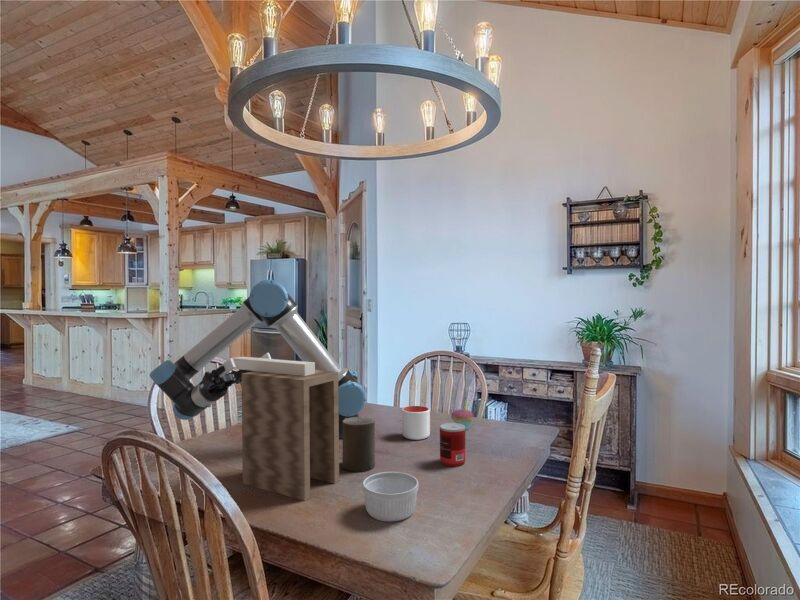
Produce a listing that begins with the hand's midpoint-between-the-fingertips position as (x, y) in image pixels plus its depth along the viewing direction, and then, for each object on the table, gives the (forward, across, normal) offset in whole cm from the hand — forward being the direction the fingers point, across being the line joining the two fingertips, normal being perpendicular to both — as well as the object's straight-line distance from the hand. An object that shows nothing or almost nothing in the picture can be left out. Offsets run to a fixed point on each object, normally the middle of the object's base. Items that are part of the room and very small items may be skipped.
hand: (252, 359), depth 134 cm
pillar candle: (+4, -19, -40) cm, 45 cm away
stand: (-4, 0, -36) cm, 36 cm away
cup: (+5, -53, -41) cm, 67 cm away
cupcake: (+14, -71, -46) cm, 86 cm away
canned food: (+24, -36, -52) cm, 67 cm away
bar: (+5, 0, -6) cm, 8 cm away
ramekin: (+24, +1, -52) cm, 57 cm away
